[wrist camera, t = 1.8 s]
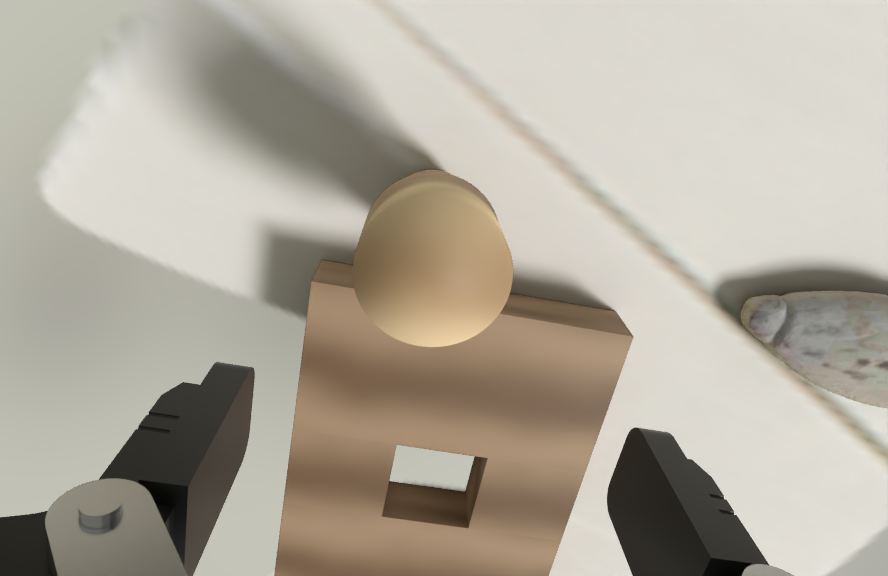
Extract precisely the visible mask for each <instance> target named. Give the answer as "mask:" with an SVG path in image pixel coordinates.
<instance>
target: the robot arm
mask: <svg viewBox="0 0 888 576" xmlns="http://www.w3.org/2000/svg"><path fill="white" fill-rule="evenodd" d="M254 374H255V373H254V368H252V367H245V366H239V365H233V364H226V363H220V362H216V363H215V364H214V365H213V367H212V368H211V369H210V371H209V372H208V374H207V375H206V377H205V379H204V380H203V382H202V383H201V385H198V384H191V383H184V382H183V383H181V384H179V385H178V386H176V387H174V388H173V389H171V390H169V391H168V392H166V393H164V394H163V395H161V397H160V398H159V399H158V401H157V402H156V403H155V405H154V406H153V407H152V409H151V410H150V411H149V415H147V416H146V417H145V418H144V419H143V421H142V422H141V424H140V425H139V428H138V430H137V429H136V430H135V431H134V433H133V434H132V436H131V437H130V438H129V440H128V441H127V442H126V444H125V445H124V446H123V448H122V449H121V450H120V452H119V453H118V454H117V456H116V457H115V458H114V460H113V461H112V462H111V464H110V465H109V466H108V468H107V469H106V471H105V472H104V473H103V475H102V476H101V477H100V479H99V480H95V481H91V482H87V483H85V484H81V485H79V486H77V487H74V488H73V489H71V490H69V491H67V492H66V493H64V494H63V495H62V496H60V497H59V498H58V499H57V500H56V501H55V502H54V503H53V504H52V506H51V507H50V508H49V510H48V511H45V512H41V513H36V514H29V515H20V516H10V517H1V518H0V576H193V574H194V572H195V569H196V567H197V565H198V562H199V560H200V558H201V556H202V553H203V551H204V548H205V546H206V544H207V542H208V539H209V537H210V535H211V532H212V530H213V528H214V526H215V523H216V521H217V519H218V516H219V514H220V512H221V509H222V507H223V505H224V502H225V500H226V498H227V496H228V493H229V491H230V489H231V487H232V484H233V482H234V479H235V477H236V475H237V472H238V470H239V468H240V466H241V463H242V461H243V458H244V455H245V451H246V447H247V442H248V438H249V431H250V421H251V410H252V399H253V388H254ZM607 506H608V512H609V515H610V518H611V521H612V523H613V526H614V528H615V531H616V534H617V536H618V539H619V541H620V544H621V546H622V549H623V552H624V554H625V557H626V559H627V562H628V565H629V567H630V570H631V572H632V575H633V576H793V575H792V574H790V573H788V572H786V571H784V570H782V569H779V568H777V567H773V566H770V565H769V564H768V562H767V561H766V559H765V558H764V556H763V555H762V553H761V552H760V550H759V549H758V547H757V546H756V544H755V543H754V541H753V540H752V538H751V537H750V535H749V533H748V532H747V530H746V529H745V527H744V526H743V524H742V523H741V521H740V520H739V518H738V517H737V515H734V511H733V509H732V508H731V506H730V505H729V503H728V501H727V500H724V495H723V494H722V492H721V491H720V489H719V488H718V486H717V485H716V483H715V482H714V480H713V479H712V477H711V476H710V475H709V474H707V473H706V472H705V471H704V470H703V469H702V468H701V467H700V466H698V465H697V464H696V463H695V462H694V461H693V460H691V459H687V458H686V456H685V455H684V453H683V452H682V450H681V448H680V447H679V445H678V444H677V442H676V440H675V439H674V437H673V436H672V435H671V434H670V433H668V432H661V431H655V430H648V429H642V428H633V429H632V430H631V431H630V432H629V434H628V436H627V438H626V441H625V443H624V446H623V449H622V451H621V454H620V457H619V459H618V462H617V465H616V468H615V470H614V473H613V476H612V478H611V481H610V484H609V488H608V494H607Z"/></svg>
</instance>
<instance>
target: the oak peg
mask: <svg viewBox="0 0 888 576" xmlns="http://www.w3.org/2000/svg"><path fill="white" fill-rule="evenodd" d="M352 277H353V285H354V290H355V293H356V296H357V299H358V301H359V303H360V305H361V307H362V309H363V311H364V312H365V313H366V315H367V316H368V318H369V319H370V320H371V321H372V322H373V323H374V324H375V325H376V326H377V327H378V328H380V329H381V330H382V331H383V332H385V333H386V334H388V335H389V336H391V337H393V338H395V339H397V340H399V341H402V342H405V343H408V344H412V345H416V346H423V347H442V346H449V345H453V344H457V343H460V342H463V341H465V340H468V339H470V338H472V337H474V336H476V335H477V334H479V333H480V332H482V331H483V330H484V329H486V328H487V327H488V326H489V325H490V324H491V323H492V322H493V321H494V320H495V319H496V318H497V316H498V315H499V314H500V312H501V311H502V309H503V308H504V306H505V304H506V302H507V299H508V297H509V294H510V291H511V286H512V281H513V263H512V257H511V253H510V250H509V247H508V245H507V242H506V239H505V237H504V234H503V232H502V229H501V227H500V224H499V222H498V219H497V216H496V214H495V211H494V209H493V208H492V206H491V204H490V202H489V201H488V200H487V198H486V197H485V196H484V195H483V194H482V193H481V192H480V191H479V190H478V189H477V188H476V187H474V186H473V185H472V184H470V183H468V182H467V181H465V180H463V179H461V178H458V177H456V176H453V175H451V174H449V173H447V172H444V171H440V170H422V171H419V172H416V173H413V174H411V175H410V176H408V177H405V178H403V179H401V180H399V181H397V182H395V183H394V184H392V185H391V186H389V187H388V188H387V189H386V190H384V192H383V193H382V194H381V195H380V196H379V197H378V198H377V199H376V201H375V202H374V203H373V205H372V207H371V209H370V211H369V213H368V216H367V218H366V221H365V224H364V227H363V230H362V233H361V236H360V239H359V242H358V245H357V248H356V251H355V255H354V260H353V268H352Z"/></svg>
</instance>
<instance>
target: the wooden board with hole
mask: <svg viewBox="0 0 888 576" xmlns="http://www.w3.org/2000/svg"><path fill="white" fill-rule="evenodd" d="M352 268H353V265H349V264H343V263H337V262H331V261H326V260H321V262H320V264H319V266H318V269H317V271H316V273H315V275H314V277H313V279H312V281H311V289H310V297H309V305H308V313H307V320H306V328H305V336H304V344H303V353H302V360H301V368H300V377H299V384H298V392H297V400H296V408H295V416H294V424H293V432H292V440H291V449H290V455H289V464H288V471H287V479H286V487H285V495H284V504H283V511H282V519H281V527H280V535H279V543H278V551H277V559H276V567H275V575H274V576H549V573H550V570H551V567H552V564H553V561H554V559H555V556H556V553H557V550H558V547H559V545H560V542H561V539H562V536H563V533H564V531H565V528H566V525H567V522H568V519H569V516H570V514H571V511H572V508H573V505H574V502H575V500H576V497H577V494H578V491H579V488H580V486H581V483H582V480H583V477H584V474H585V472H586V469H587V466H588V463H589V460H590V457H591V455H592V452H593V449H594V446H595V443H596V441H597V438H598V435H599V432H600V429H601V427H602V424H603V421H604V418H605V415H606V412H607V410H608V407H609V404H610V401H611V398H612V396H613V393H614V390H615V387H616V384H617V382H618V379H619V376H620V373H621V370H622V367H623V365H624V362H625V359H626V356H627V353H628V351H629V348H630V345H631V342H632V339H633V335H632V334H631V332H630V331H629V330H628V328H627V327H626V325H625V324H624V322H623V321H622V320H621V318H620V317H619V315H618V314H617V312H616V311H610V310H604V309H599V308H593V307H587V306H582V305H576V304H570V303H565V302H559V301H553V300H548V299H542V298H536V297H531V296H525V295H519V294H513V293H510V294H509V297H508V299H507V302H506V304H505V306H504V308H503V309H502V311H501V312H500V314H499V315H498V316H497V318H496V319H495V320H494V321H493V322H492V323H491V324H490V325H489V326H488V327H487V328H486V329H484V330H483V331H482V332H480V333H479V334H477V335H476V336H474V337H472V338H470V339H468V340H465V341H463V342H460V343H457V344H453V345H449V346H442V347H423V346H416V345H412V344H408V343H405V342H402V341H399V340H397V339H395V338H393V337H391V336H389V335H388V334H386V333H385V332H383V331H382V330H381V329H380V328H378V327H377V326H376V325H375V324H374V323H373V322H372V321H371V320H370V319H369V318H368V316H367V315H366V313H365V312H364V311H363V309H362V307H361V305H360V303H359V301H358V299H357V296H356V293H355V290H354V285H353V277H352ZM396 445H402V446H409V447H416V448H423V449H429V450H436V451H443V452H450V453H457V454H463V455H470V456H475V457H474V461H473V465H472V469H471V473H470V476H469V480H468V484H467V487H466V491H465V492H462V491H455V490H448V489H441V488H434V487H427V486H419V485H412V484H405V483H398V482H391V481H389V479H390V474H391V469H392V464H393V459H394V455H395V450H396Z"/></svg>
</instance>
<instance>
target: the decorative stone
mask: <svg viewBox="0 0 888 576" xmlns="http://www.w3.org/2000/svg"><path fill="white" fill-rule="evenodd" d="M741 321H742V324H743V325H744V327H745V328H747V329H748V331H749V332H750V333H751V334H752V335H753V336H754V337H755V338H757V339H758V340H760V341H762V342H763V345H764V346H765V347H766V348H767V349H769V350H770V351H771V352H772V353H773V354H775V355H776V356H777V357H779V358H780V359H781V360H782V361H783V362H785V363H786V364H787V365H788V366H789V367H790V368H791V369H793V370H794V371H795V372H797V373H798V374H800V375H802V376H803V377H805V378H806V379H807V380H809V381H810V382H812V383H814V384H815V385H817V386H819V387H821V388H824V389H826V390H828V391H831V392H833V393H836V394H838V395H841V396H844V397H846V398H848V399H852V400H854V401H858V402H861V403H864V404H869V405H873V406H877V407H883V408H888V295H885V294H878V293H867V292H861V291H805V292H793V293H788V294H785V295H781V296H778V295H762V296H755V297H751V298H749V299H747V301H746V302H745V304H744V305H743V308H742V310H741Z"/></svg>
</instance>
